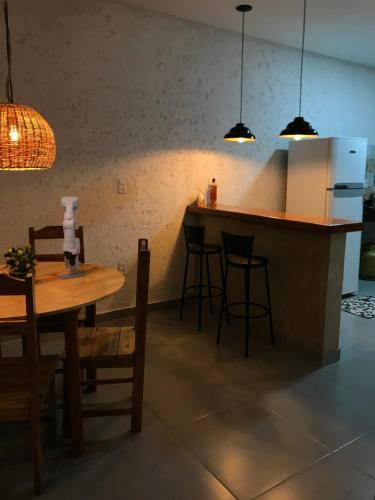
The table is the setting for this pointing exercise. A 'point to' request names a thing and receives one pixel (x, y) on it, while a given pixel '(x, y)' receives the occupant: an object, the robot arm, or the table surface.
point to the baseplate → (71, 275)
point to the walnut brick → (67, 264)
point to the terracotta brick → (73, 270)
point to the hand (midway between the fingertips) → (70, 264)
